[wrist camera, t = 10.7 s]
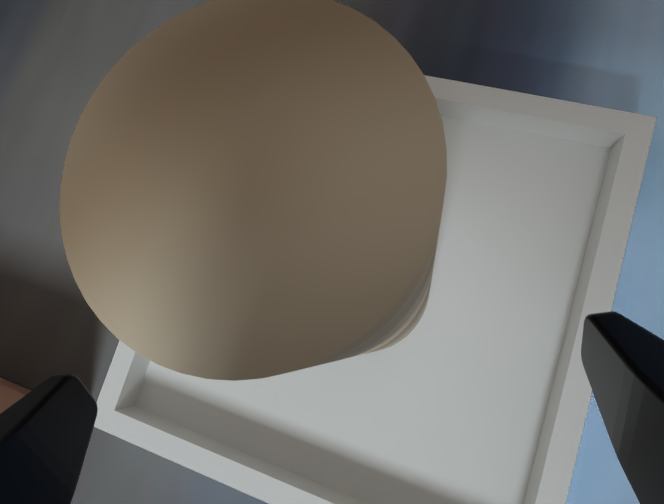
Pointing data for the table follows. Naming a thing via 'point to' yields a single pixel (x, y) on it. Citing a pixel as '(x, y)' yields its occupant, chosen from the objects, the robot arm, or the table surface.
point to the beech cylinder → (257, 190)
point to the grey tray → (437, 335)
